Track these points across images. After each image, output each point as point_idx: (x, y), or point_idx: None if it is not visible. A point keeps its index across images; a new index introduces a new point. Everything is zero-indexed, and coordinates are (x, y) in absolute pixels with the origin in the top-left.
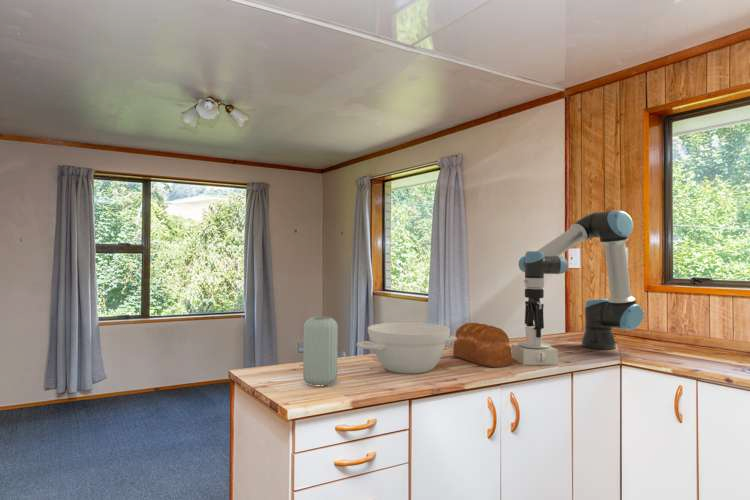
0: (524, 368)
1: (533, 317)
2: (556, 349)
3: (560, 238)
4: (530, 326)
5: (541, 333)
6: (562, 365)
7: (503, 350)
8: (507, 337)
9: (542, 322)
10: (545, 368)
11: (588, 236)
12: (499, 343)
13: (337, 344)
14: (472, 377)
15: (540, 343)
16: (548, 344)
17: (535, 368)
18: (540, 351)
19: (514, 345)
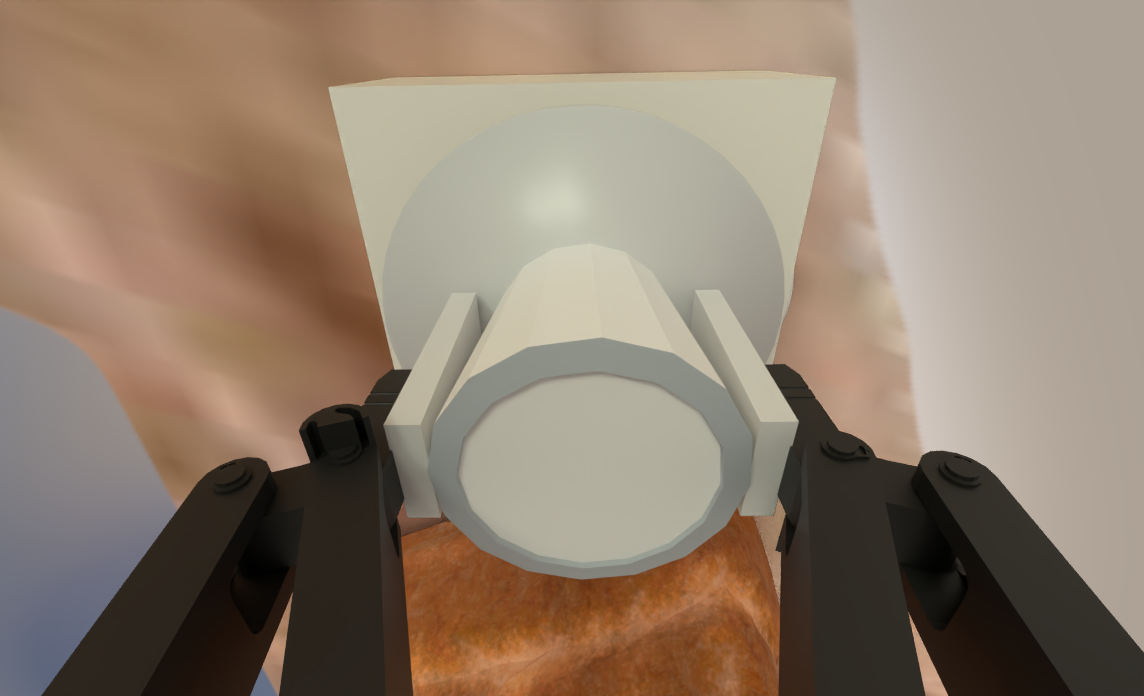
0: (822, 406)
1: (384, 632)
2: (820, 90)
3: None
4: (462, 494)
5: (683, 331)
6: (812, 27)
7: (773, 599)
8: (769, 675)
9: (1055, 586)
10: (874, 261)
11: None
12: (778, 672)
13: None
14: (916, 652)
15: (725, 307)
16: (617, 133)
17: (847, 336)
18: (788, 306)
19: None
